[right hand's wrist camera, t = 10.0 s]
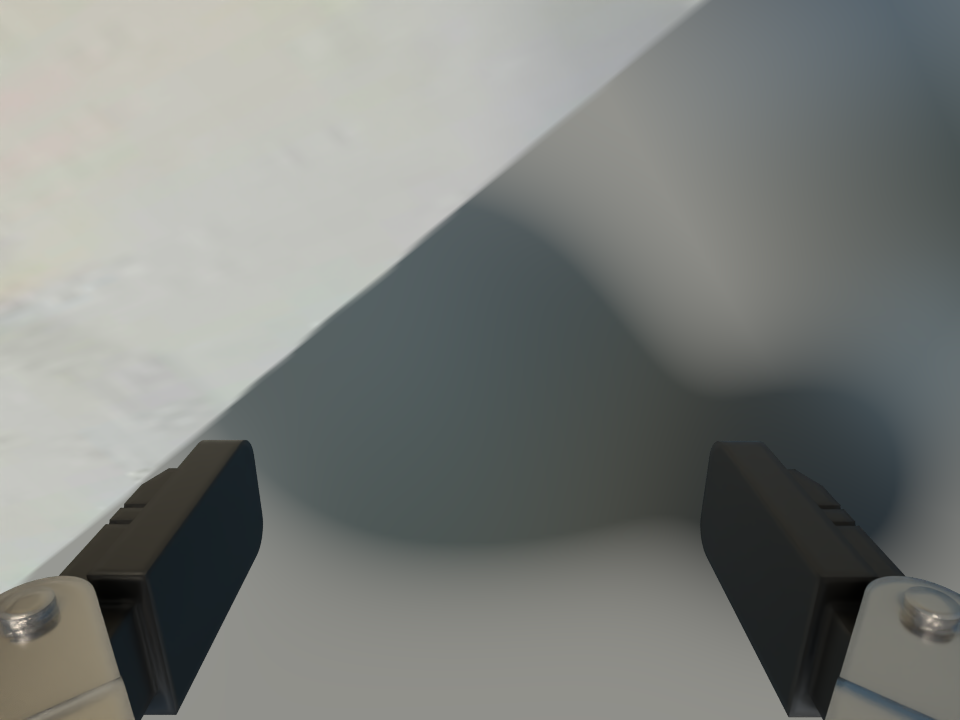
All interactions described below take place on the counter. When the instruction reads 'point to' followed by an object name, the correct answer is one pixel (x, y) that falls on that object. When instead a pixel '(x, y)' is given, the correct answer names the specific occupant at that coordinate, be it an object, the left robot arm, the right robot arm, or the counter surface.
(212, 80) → the counter surface
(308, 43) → the counter surface
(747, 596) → the right robot arm
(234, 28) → the counter surface
